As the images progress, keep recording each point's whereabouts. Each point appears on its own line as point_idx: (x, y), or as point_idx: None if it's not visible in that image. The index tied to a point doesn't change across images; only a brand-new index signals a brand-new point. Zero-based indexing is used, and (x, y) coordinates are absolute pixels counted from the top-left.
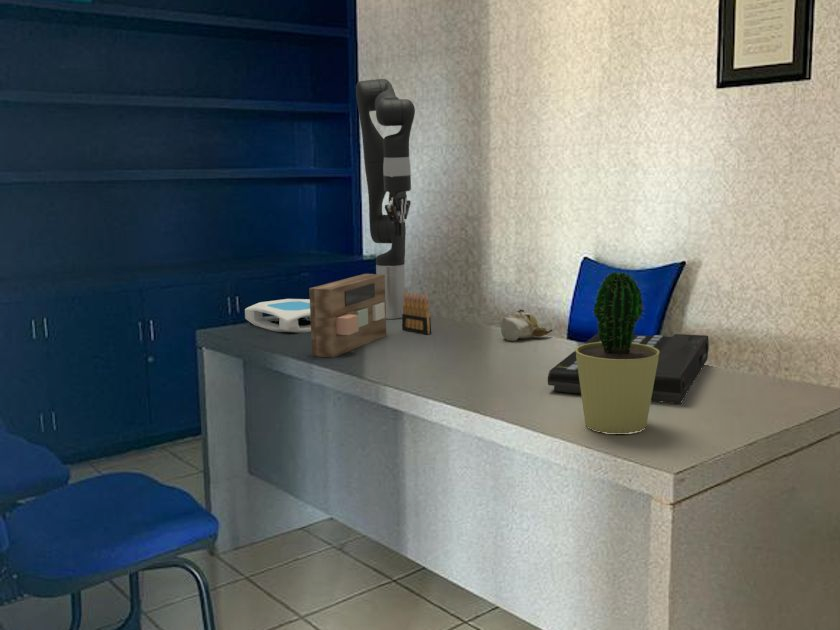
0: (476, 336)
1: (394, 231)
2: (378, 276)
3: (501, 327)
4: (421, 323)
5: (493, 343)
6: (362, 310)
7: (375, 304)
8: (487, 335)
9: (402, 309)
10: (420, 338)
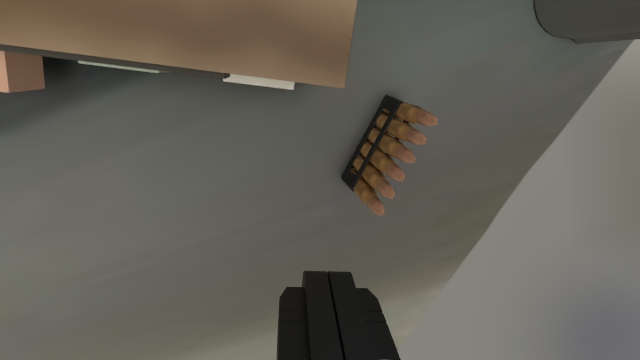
0: None
1: (280, 306)
2: (279, 79)
3: None
4: (357, 168)
5: None
6: (115, 67)
7: None
8: None
9: (571, 33)
10: (296, 177)
